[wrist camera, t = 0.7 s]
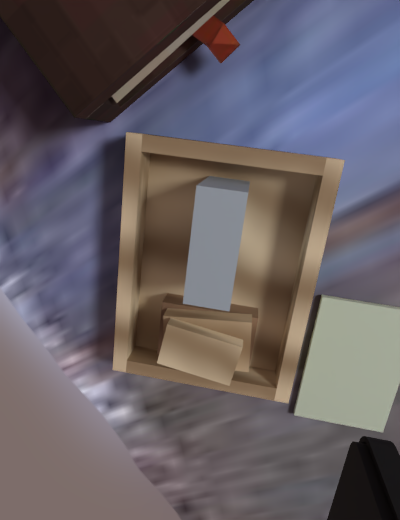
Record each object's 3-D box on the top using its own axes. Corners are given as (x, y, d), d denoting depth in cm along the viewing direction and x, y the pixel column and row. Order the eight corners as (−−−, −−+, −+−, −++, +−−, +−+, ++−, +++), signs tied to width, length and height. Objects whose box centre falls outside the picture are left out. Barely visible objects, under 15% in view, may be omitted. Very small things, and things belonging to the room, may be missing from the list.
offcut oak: (249, 361, 32) (248, 372, 31) (167, 354, 33) (163, 364, 32) (252, 314, 31) (251, 322, 29) (167, 308, 32) (163, 315, 30)
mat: (381, 428, 35) (382, 432, 34) (293, 411, 36) (294, 415, 35) (420, 310, 31) (422, 313, 31) (321, 294, 32) (322, 296, 32)
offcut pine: (230, 377, 31) (229, 385, 30) (160, 355, 31) (156, 363, 30) (243, 339, 30) (242, 347, 29) (170, 317, 30) (167, 324, 29)
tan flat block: (248, 358, 34) (248, 370, 32) (162, 342, 35) (157, 354, 33) (258, 308, 33) (258, 318, 31) (167, 292, 33) (162, 301, 32)
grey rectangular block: (234, 276, 32) (229, 311, 26) (197, 270, 32) (182, 303, 26) (249, 181, 30) (248, 192, 23) (209, 175, 30) (196, 185, 23)
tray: (285, 382, 35) (288, 403, 32) (123, 352, 36) (112, 369, 34) (335, 158, 29) (344, 160, 26) (138, 133, 30) (126, 132, 27)
